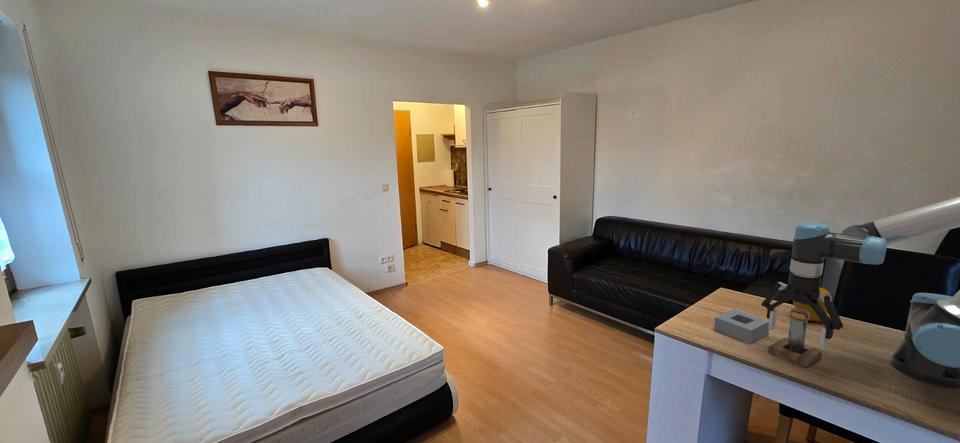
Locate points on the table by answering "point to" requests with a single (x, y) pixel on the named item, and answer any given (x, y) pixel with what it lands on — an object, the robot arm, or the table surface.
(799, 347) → the pin
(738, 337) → the socket
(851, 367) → the table surface
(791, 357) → the mount
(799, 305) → the apple
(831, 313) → the robot arm
